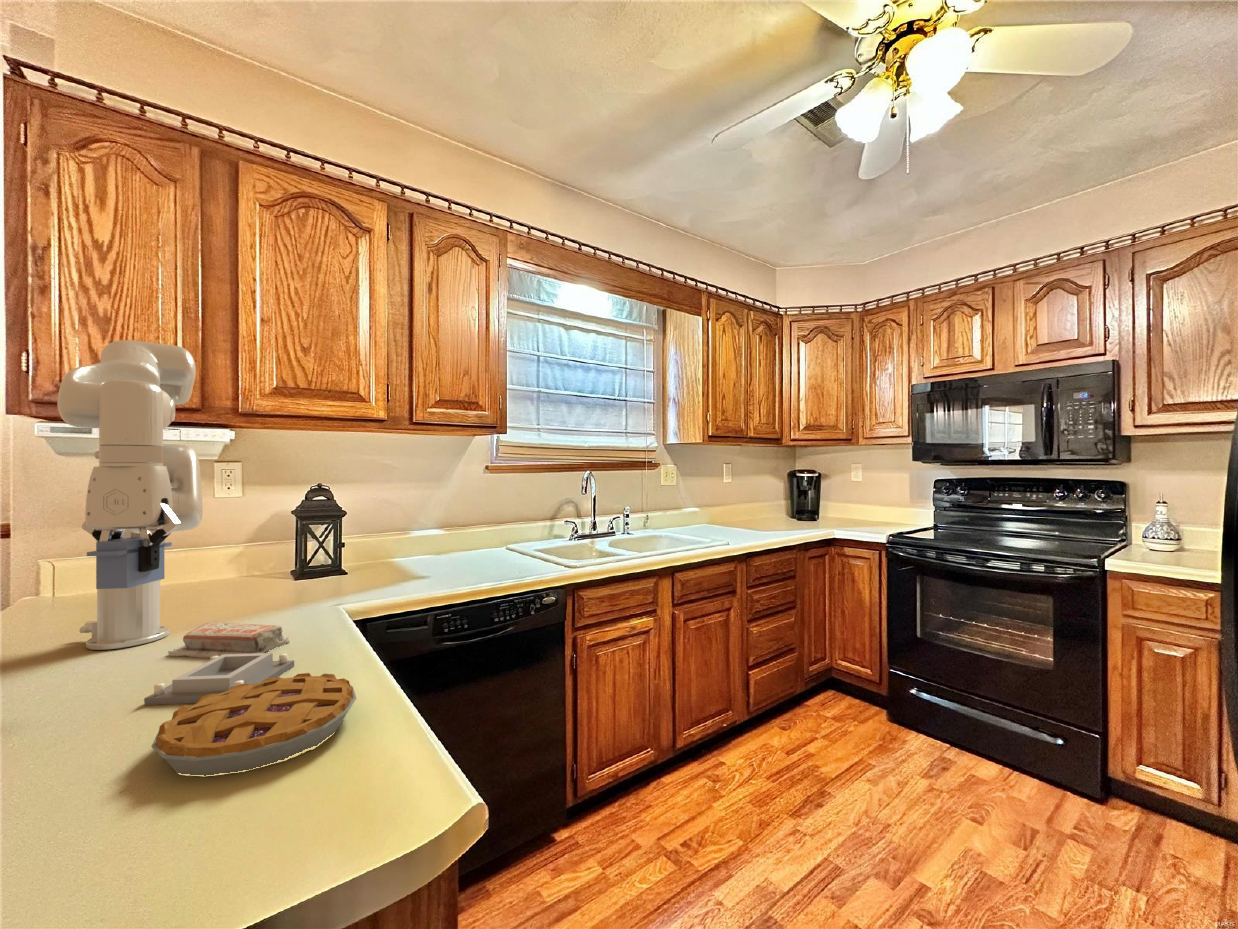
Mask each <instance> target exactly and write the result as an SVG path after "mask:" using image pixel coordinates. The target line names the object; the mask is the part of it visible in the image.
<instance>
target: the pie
mask: <svg viewBox="0 0 1238 929" xmlns="http://www.w3.org/2000/svg"><path fill="white" fill-rule="evenodd" d="M356 695H357V694H356V691H355V689H354V687H353V685H351V684H350V681H349V680H348V679H346V678H345V677H344V678H336V675H335V674H333V673H323V674H321V675H311V674H310V673H309V672H305V673H297V674H296V675H294V676H293V677H280V676H279V677H276V678H270V679H266V680H264V681H262V682H260V683H255V684H250V685H248V684H245V683H244V684H240V685H236V686H232V687H231V688H230V690H228V691H226V692H223V693H220V694H209V695H205V696H201V697H199V699H198V701H197V703H194V704H193V705H188V704H187V705H185V704H184V705H182V706H180V707H179V708H177V709H176V710H175V711H174V712H173V713H172V717H171V719H169V720H167V721H164V722H162V723H161V724H160V725H159V726H158V728H159V729H158V731H157V734H156V736H155V738H154V740H153V742H152V744H151V745H150V746H151V748H152V749H153V751H155V752H156V753H157V754H158V755H159V756H160V757H161V758H162V759H164V760H165V761H166V762H167V763H168V765H171V766H170V767H171V768H172V769H173V771H174V772H175V771H176V772H177V773H181V774H190V775H204V776H206V775H214V774H219V773H230V772H238V771H243V770H249V769H253V768H256V767H261V766H263V765H267V764H270V763H274V762H277V761H278V760H284V759H285V758H288V757H289V756H292V755H294V754H296V753H299V752H302V751H303V750H305V749H308V748H311V747H313V746H317V745H318V744H319V743H321V742H322V741H323V740H325V739H326V738H327V737H329V736H330V735H332V734H333V733H334V732H336V733H337V731H338V730H337V729H339V728H340V726H341V725H340V724H342V723H343V722H342V721H344V720H345V718H346V716H347V714H348V713H349V711H350V710H351V708H352V707H353V704H354V703H355V702H356V700H357V696H356ZM343 719H344V720H343ZM338 727H339V728H338ZM336 730H337V731H336ZM176 772H175V773H176ZM177 773H176V774H177Z"/></svg>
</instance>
